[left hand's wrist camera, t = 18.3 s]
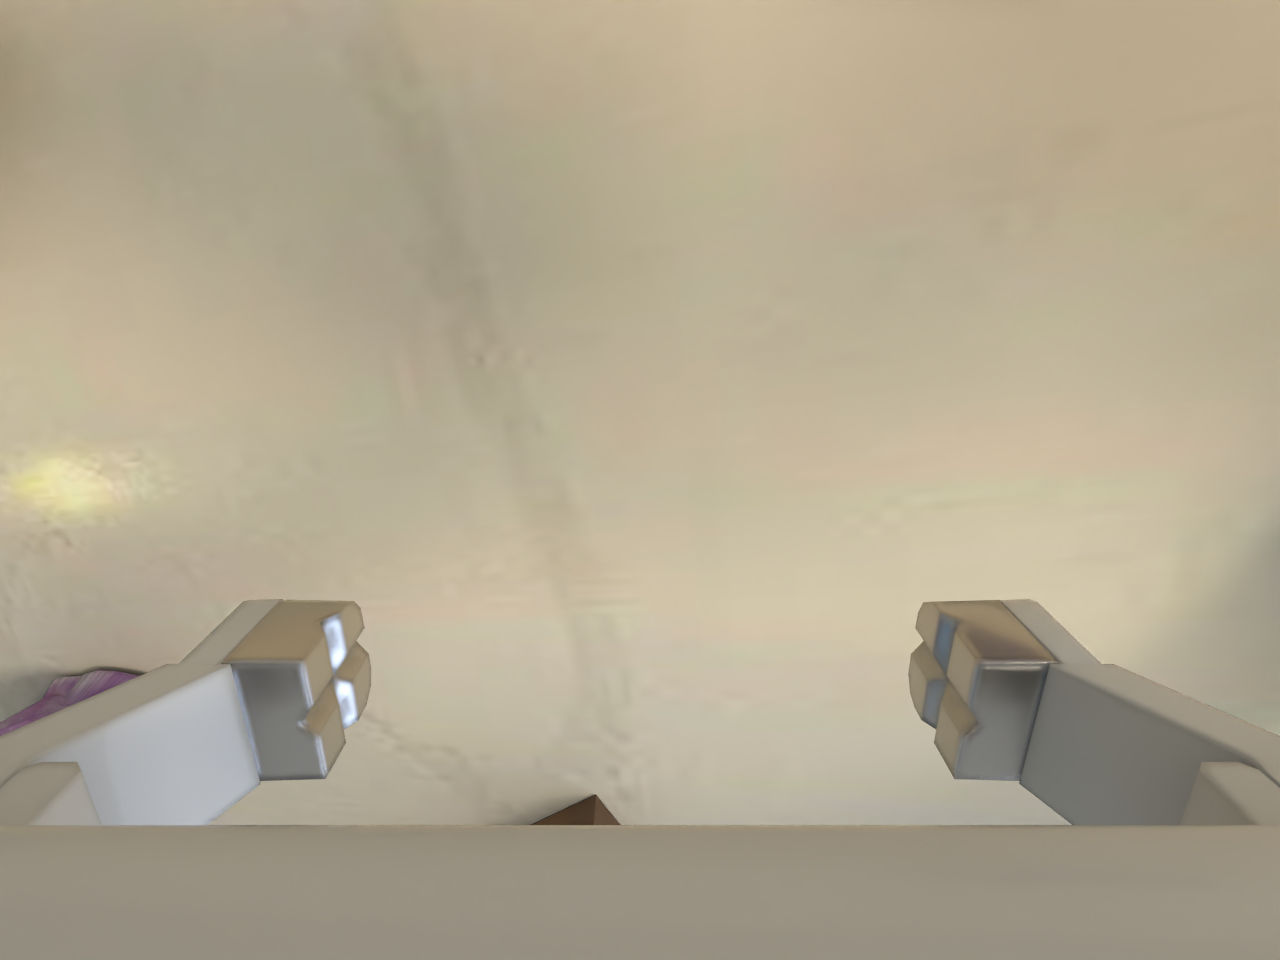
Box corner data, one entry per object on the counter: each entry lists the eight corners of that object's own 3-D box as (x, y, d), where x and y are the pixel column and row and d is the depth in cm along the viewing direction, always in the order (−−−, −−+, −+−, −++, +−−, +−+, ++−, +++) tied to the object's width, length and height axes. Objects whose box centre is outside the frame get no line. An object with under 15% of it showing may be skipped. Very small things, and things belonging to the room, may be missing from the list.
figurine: (13, 695, 48) (-243, 892, 34) (123, 635, 46) (-99, 818, 32) (111, 787, 51) (-89, 1003, 37) (218, 734, 49) (50, 941, 35)
